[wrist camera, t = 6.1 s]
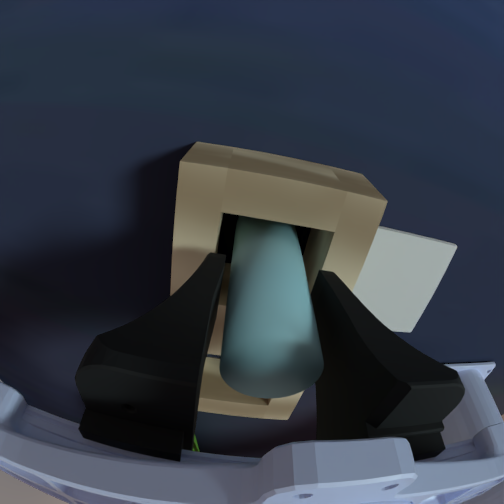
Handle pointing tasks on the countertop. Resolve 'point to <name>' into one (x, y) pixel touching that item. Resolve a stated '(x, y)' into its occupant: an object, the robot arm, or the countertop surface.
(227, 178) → the hole block
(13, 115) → the countertop surface
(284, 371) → the peg
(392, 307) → the mat
